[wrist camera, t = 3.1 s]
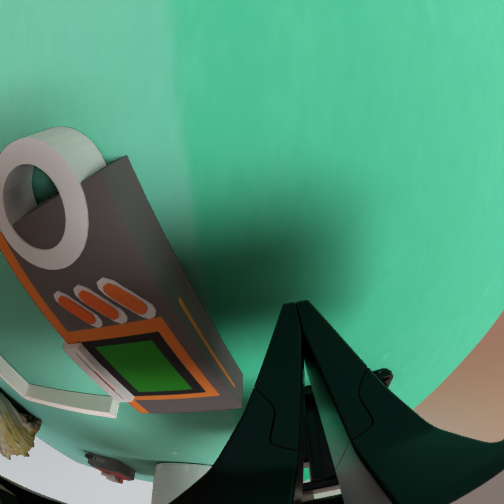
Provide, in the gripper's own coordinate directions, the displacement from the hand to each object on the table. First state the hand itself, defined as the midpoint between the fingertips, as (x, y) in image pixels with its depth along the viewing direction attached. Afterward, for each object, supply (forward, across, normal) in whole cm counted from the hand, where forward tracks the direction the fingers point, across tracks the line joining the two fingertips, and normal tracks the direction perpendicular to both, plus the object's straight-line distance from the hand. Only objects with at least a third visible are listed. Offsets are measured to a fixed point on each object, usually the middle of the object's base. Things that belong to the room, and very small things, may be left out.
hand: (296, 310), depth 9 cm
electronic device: (+3, +7, 0) cm, 8 cm away
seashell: (+2, +40, +18) cm, 44 cm away
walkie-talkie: (+3, +39, +46) cm, 60 cm away
